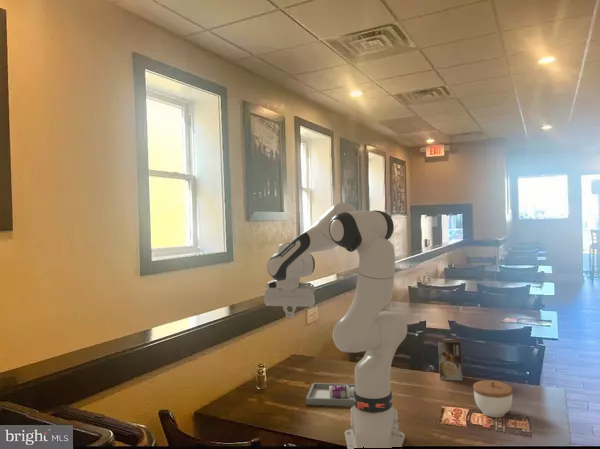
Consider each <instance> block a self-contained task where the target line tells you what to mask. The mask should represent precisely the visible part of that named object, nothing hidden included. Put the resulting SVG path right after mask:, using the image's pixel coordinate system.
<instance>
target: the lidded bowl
mask: <svg viewBox="0 0 600 449" xmlns="http://www.w3.org/2000/svg"><path fill="white" fill-rule="evenodd" d="M472 387H473V396H474V402H475V404H476V406H477V408H478V409H479V410H480V411H481V412H482V414H483V415H484V416H487V417H491V418H502V417H504V416H505V414H507V413H508V412H509V411H510V409H511V407H512V405H513V392H514V389H513V387H512V386H511V385H509V384H507V383H505V382H502V381H498V380H479V381H476V382H475V383H473V385H472Z"/></svg>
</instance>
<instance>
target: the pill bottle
mask: <svg viewBox="0 0 600 449" xmlns="http://www.w3.org/2000/svg"><path fill="white" fill-rule="evenodd" d="M354 391H355V387H351V388H349V386H348V385H339V386H329V395H330V398H334V399H350V398H354Z"/></svg>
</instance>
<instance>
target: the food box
mask: <svg viewBox="0 0 600 449" xmlns="http://www.w3.org/2000/svg"><path fill="white" fill-rule="evenodd" d="M437 340H438V341H437V343H438V344H437V346H438V349H437V350H438V366H439V368H438V369H439V371H438V372H439V380H440V381H458V382H459V381H460V382H463V380H464V379H463V364H462V362H463V361H462V348H461V345H462V344H461V338H448V337H447V338H446V337H445V338H443V337H441V338H440V337H438V338H437Z"/></svg>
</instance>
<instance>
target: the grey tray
mask: <svg viewBox="0 0 600 449" xmlns="http://www.w3.org/2000/svg"><path fill="white" fill-rule="evenodd" d="M339 385H348V386H349V388H351V387H355V383H331V382H329V383H326V382H323V383H322V382H312V384H311V386H310V389H309V390H308V393H307V395H306V398H305V405H306V406H320V405H322V407H323V406H327V407H346V408H347V407H350V408H352V407H353V406H354V398H350V399H334V398H330V395H329V386H339Z"/></svg>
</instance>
